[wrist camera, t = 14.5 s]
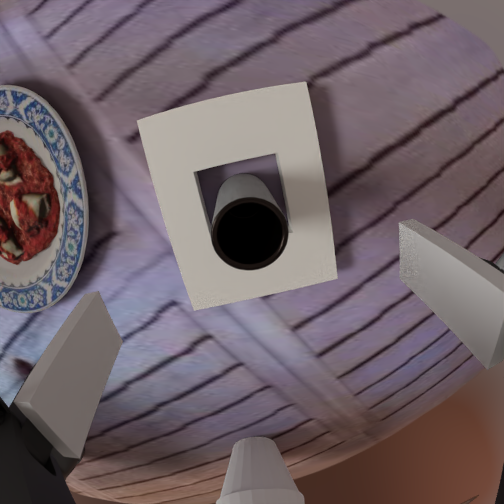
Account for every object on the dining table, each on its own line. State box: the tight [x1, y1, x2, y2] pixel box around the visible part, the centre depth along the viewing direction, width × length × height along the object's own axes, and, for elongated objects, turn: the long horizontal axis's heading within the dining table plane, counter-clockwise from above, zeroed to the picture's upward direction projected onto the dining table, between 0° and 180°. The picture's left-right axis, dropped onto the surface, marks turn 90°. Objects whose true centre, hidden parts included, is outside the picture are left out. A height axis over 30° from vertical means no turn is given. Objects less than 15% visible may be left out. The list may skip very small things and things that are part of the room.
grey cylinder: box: [211, 173, 289, 271], centre depth 23 cm, size 4×4×10 cm
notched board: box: [137, 82, 338, 310], centre depth 26 cm, size 18×14×2 cm
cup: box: [216, 437, 304, 504], centre depth 36 cm, size 12×12×14 cm
